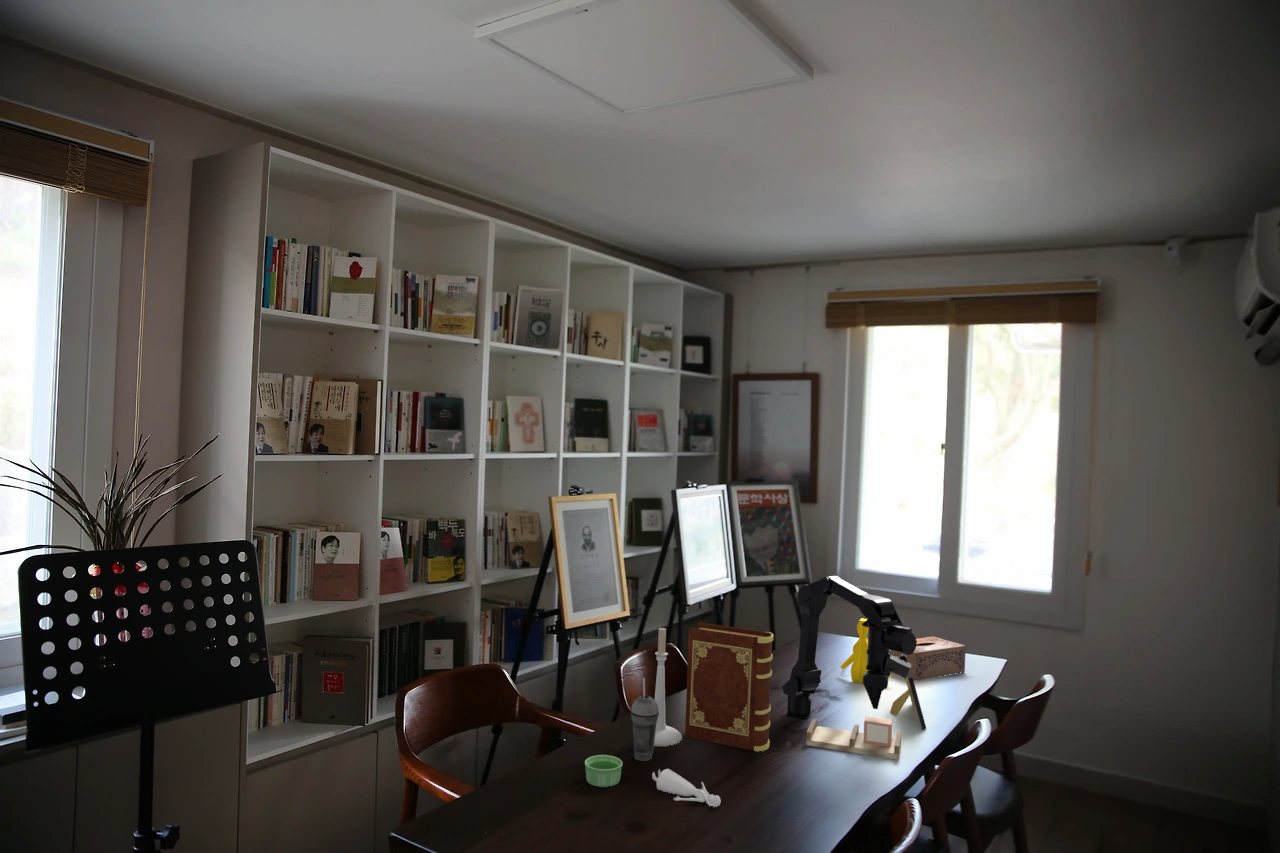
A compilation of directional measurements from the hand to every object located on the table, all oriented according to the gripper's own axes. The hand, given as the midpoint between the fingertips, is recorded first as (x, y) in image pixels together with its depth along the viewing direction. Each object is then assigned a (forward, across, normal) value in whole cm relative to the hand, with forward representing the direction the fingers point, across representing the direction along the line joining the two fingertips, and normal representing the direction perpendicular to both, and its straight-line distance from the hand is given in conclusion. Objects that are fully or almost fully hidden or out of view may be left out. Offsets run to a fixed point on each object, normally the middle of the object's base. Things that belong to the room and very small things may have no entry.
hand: (876, 703), depth 226 cm
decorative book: (+12, -12, +38) cm, 41 cm away
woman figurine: (+12, -50, +38) cm, 64 cm away
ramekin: (+12, -50, +59) cm, 78 cm away
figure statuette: (+12, +61, +9) cm, 63 cm away
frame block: (+10, 0, 0) cm, 10 cm away
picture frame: (+12, +32, -6) cm, 35 cm away
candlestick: (+12, -18, +56) cm, 60 cm away
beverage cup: (+12, -33, +55) cm, 65 cm away
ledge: (+12, 0, +6) cm, 13 cm away
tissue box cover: (+12, +86, -10) cm, 87 cm away
